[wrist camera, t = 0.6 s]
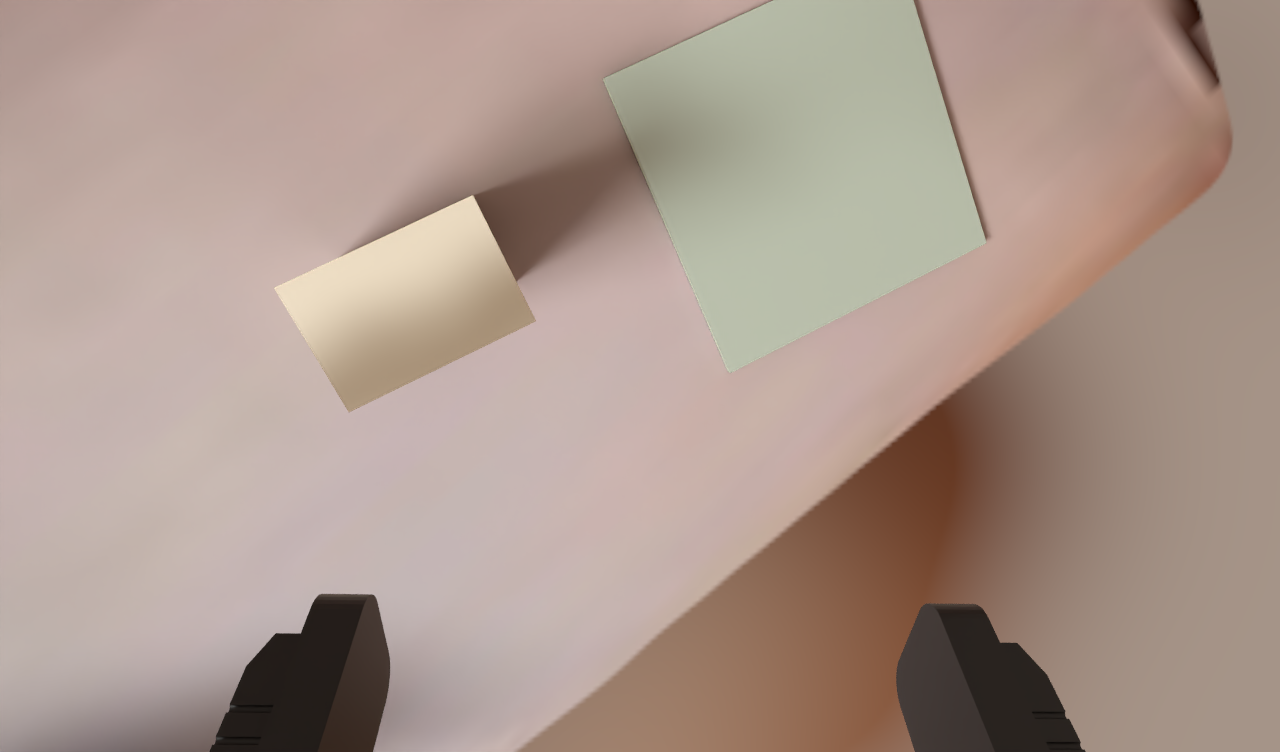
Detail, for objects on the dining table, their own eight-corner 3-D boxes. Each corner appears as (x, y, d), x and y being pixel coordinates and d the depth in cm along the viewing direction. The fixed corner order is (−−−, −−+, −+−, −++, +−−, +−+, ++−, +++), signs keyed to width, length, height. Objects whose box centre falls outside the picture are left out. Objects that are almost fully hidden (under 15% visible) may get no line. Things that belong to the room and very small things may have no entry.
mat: (602, 79, 32) (604, 77, 32) (891, -54, 34) (896, -57, 33) (727, 371, 36) (730, 373, 36) (981, 242, 38) (986, 243, 37)
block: (339, 257, 32) (273, 287, 21) (472, 195, 32) (472, 195, 22) (387, 343, 33) (348, 412, 22) (515, 282, 33) (536, 321, 23)
